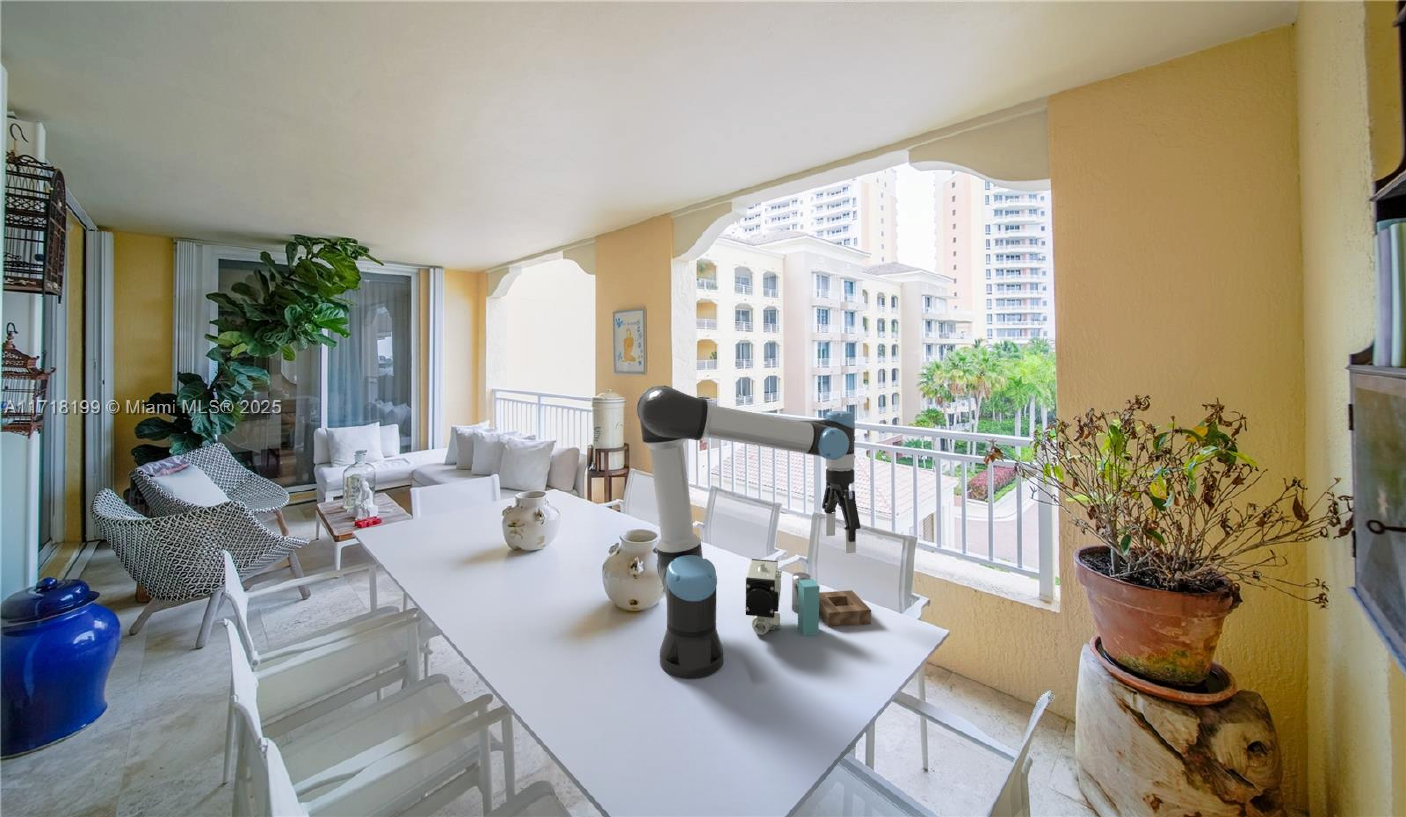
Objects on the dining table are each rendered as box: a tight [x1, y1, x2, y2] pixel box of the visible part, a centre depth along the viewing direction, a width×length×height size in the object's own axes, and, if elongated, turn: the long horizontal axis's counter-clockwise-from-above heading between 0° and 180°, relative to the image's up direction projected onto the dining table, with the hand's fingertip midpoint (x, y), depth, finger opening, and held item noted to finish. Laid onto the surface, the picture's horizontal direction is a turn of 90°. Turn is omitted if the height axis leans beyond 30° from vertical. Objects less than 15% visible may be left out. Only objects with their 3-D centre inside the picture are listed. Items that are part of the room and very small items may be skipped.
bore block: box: [819, 589, 872, 628], centre depth 144 cm, size 12×12×4 cm
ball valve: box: [745, 558, 783, 636], centre depth 136 cm, size 18×8×18 cm, turn 168°
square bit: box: [797, 578, 821, 636], centre depth 135 cm, size 4×4×13 cm
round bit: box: [791, 571, 811, 614], centre depth 147 cm, size 5×5×10 cm
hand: (839, 543), depth 143 cm, fingers open, 13 cm apart
